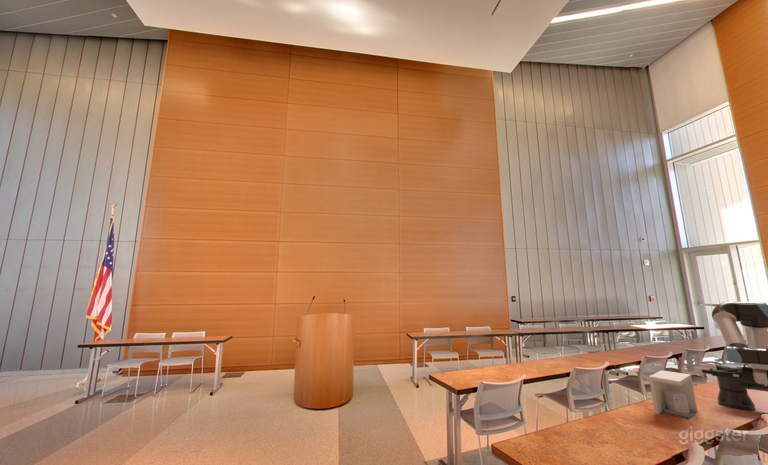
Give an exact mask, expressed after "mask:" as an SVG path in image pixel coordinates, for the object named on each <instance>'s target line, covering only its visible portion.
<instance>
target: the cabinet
mask: <svg viewBox="0 0 768 465" xmlns="http://www.w3.org/2000/svg"><path fill="white" fill-rule="evenodd" d="M648 380H649V386H650V391H651V396H652V403H653V409H654V410H653V411H654V414H656V415H659V414H661V413H662V414H665V415H669V416H673V417H677V418H681V419H686V420H690V419H691V418H692V417H693V416H695V414H696V413H697V412H698V411H699V410H698V405H697V399H696V395H695V394H696V393H695V388H694V384H693V379H692V374H688V373H681V372H675V371H668V370H661V369H660V370H659V371H657V372H655V373H654V374H653V373H652V374H651V375H649V376H648ZM664 391H679V392H682V393H685V394H686V396H687V402H688V407H689V412H690V413H681V412H677V411H673V410H668V409H667V403H666V398H665V392H664Z"/></svg>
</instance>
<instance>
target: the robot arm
mask: <svg viewBox="0 0 768 465" xmlns="http://www.w3.org/2000/svg"><path fill="white" fill-rule="evenodd" d="M711 317H712V320H713V322H715V324H717V325H718V328H719V331H720V332H721V336H722V337H723V340H724V341H725V344H726V346H725V347H724V348H723V350H724V355H725V357H726V360H727V361H729V362H733V363H739V364H747V366H741V365H739V364H729V363H728V364H718V365H716V364H709V363H708V364H707V363H699V367H698V366H693V371H694V373H696V374H697V373H698V374H703V375H704V374H705V375H710V376H712V377H716V379H717V384H718V388H719V392H718V394H717V395H718V396H717V403H718V404H720V405H722V406H725V407H728V408H732V409H737V410H739V409H740V410H745V411H747V410H748V411H752V410H756V405H755V403H754V402H753V400H752V399H751V396H750V395H749V392H748V390H752V391H758V392H759V391H761V392H766V393H767V392H768V303H767V302H765V301H764V302H763V301H762V302H761V301H723V302H721V303H719V304H717V305H716V306H715V307H714V308H712V312H711ZM738 322H739V323H740V325H741V326H743V327H744V329H745V336H746V340H745V337H744V336H743V333H742V332H741V329H740V327H739V325H738V324H737V323H738Z"/></svg>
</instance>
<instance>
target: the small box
mask: <svg viewBox="0 0 768 465" xmlns="http://www.w3.org/2000/svg"><path fill="white" fill-rule="evenodd" d="M664 392H665V398H666V403H667V409H668V410H673V411H677V412H681V413H690V412H689V407H688V402H687V396H686V394H685V393H682V392H679V391H664Z"/></svg>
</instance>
